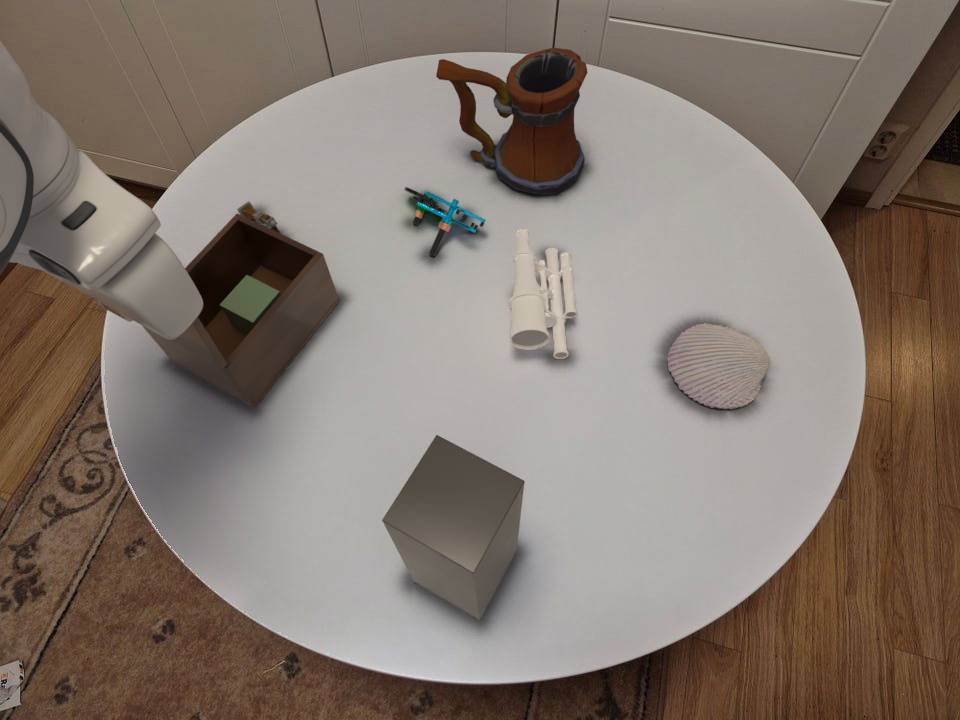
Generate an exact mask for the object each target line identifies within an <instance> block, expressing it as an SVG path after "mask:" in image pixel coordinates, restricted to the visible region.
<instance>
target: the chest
mask: <svg viewBox="0 0 960 720" xmlns="http://www.w3.org/2000/svg"><path fill="white" fill-rule="evenodd" d="M280 233H281V232H280ZM280 233H278V232H276V231H274V230H272V229H270V228H269V227H268V226H266V225H264V224H260V223H259V222H256V220H253V219H248V218H246V217H244V216H242V215H240V213H235V215H234V216H233V217H231V219H230V220H229V221H228V222H227V223H226V224H225V225H224V226H223V227H222V228H221V229H220V230H219V231H218V232H217V234H216V235H215V236H214V237H213V238H212V239H211V240H210V241H209V242H208V243H207V244H206V245H205V246H204V247H203V248H202V250H201V251H199V253H197V254H196V256H195V257H193V259H192V260H191V261H190V262H189V263H188V265H186V266H185V267H184V268H185V269H186V271H187V272H188V274H189V276H190V277H191V279H192V281H193V282H194V284H195V286H196V288H197V289H198V291H199V293H200V295H201V297H202V300H203V308H202V311H201V312H200V314H199V315H198V318H199V320H200V321H201V323H202V324H203V326H204V328H205V329H206V331H207V332H208V334H209V336H210V337H211V339H212V340H213V342H214V344H215V345H216V347H217V348H218V350H219V351H220V353H221V355H222V356H223V358H224V359H225V361H226V363H227V365H226V366H225V367H224V368H223V369H221V368H219V367H217V366H216V365H214V364H212V363H210V362H208V361H206V360H205V359H203V358H201V357H199V356H197V355H196V354H194V353H192V352H190V351H188V350H186V349H185V348H183V347H181V346H179V345H177V344H175V343H174V342H172V341H170V340H168V339H166V338H164V337H162V336H161V335H159V334H157V333H155V332H153V331H152V330H150V329H148V328H146V327H144V326H142V328H143V329H144V330H145V331H146V332H147V333H148V335H149V336H150V337H151V338H152V339H153V341H154V342H155V343H156V344H157V346H159V348H160V349H161V350H162V351H163V353H165V355H166V356H167V357H168V358H169V359H170V361H171V362H172V363H174V364H175V365H177V366H179V367H181V368H183V369H184V370H186V371H188V372H190V373H191V374H193V375H195V376H196V377H198V378H200V379H202V380H204V381H206V382H207V383H210V384H211V385H213V386H215V387H217V388H219V390H222V391H224V392H226V393H227V394H229V395H231V396H232V397H234V398H236V399H238V400H240V401H242V402H243V403H245V404H247V405H249V406H251V407H252V408H254V409H255V408H257V407H258V405H259V404H260V403H261V401H262V400H264V398H265V397H266V395H267V394H268V393H269V392H270V391H271V389H272V388H273V386H274V385H275V384H276V382H277V381H278V380H279V379H280V377H281V376H283V374H284V372H285V371H286V370H287V369H288V367H290V365H291V363H293V361H294V360H295V359H296V358H297V356H298V355H299V354H300V352H301V351H302V350H303V348H304V347H305V346H306V345H307V344H308V342H309V341H310V340H311V339H312V337H313V336H314V334H315V333H316V332H317V331H318V329H319V328H321V326H322V324H323V323H324V322H325V320H327V318H328V317H329V316H330V314H331V313H332V312H333V310H334V309H335V308H336V306H337V305H338V304H339V303H340V302H341V299H340V297H339V295H338V292H337V289H336V287H335V283H334V281H333V277H332V275H331V272H330V269H329V266H328V264H327V261H326V258H325V255H324V253H323V252H320V251H319V250H316V249H314V248H312V247H310V246H308V245H305V244H304V243H301V242H299V241H297V240H296V239H293V238H290V237H289V236H287V235H285V234H282V233H281V234H280ZM246 275H248V276H250V277H252V278H254V279H256V280H258V281H260V282H262V283H264V284H266V285H268V286H270V287H272V288H274V289H276V290H278V291H280V293H281V296H280V297H279V298H278V299H277V300H276V302H275V303H274V304H273V305H272V306H271V308H270V309H269V310H268V311H267V312H266V314H265V315H264V316H263V317H262V318H261V319H260V321H259V322H258V323H257V324H256V325H255V327H254V328H253V329H252V330H251V331H250V332H249V334H248V335H247V334H245V333H243V332H241V331H240V330H238V329H236V328H234V327H233V325H232V324H231V322H230V321H229V319H228V317H227V316H226V314H225V313H224V311H223V310H222V308H221V306H220V304H221V303H222V302H223V300H224V299H225V298H226V297H227V296H228V295H229V294H230V293H231V292H232V291H233V289H234V288H235V287H236V286H237V285H238V284H239V283H240V282H241V281H242V279H243V278H244V277H245V276H246Z"/></svg>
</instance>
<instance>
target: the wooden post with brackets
mask: <svg viewBox="0 0 960 720" xmlns="http://www.w3.org/2000/svg"><path fill="white" fill-rule="evenodd" d="M236 210H237V212H238V214H240V215H242V216H244V217H246V218H248V219H250V220H254V221H255V222H257V223H259V224H261V225H264V226H265V227H267V228H269V229H272V230H274V231H276V232H278V233H280V234H282V233H281V231H280V230H279V228H278V227H277V225H278V221H276V219H275V217H274V216H271V215H269V214H268V213H265V212H263V211H262V212H261V211H260V210H256V209H255V208H254V206H253V204H252V202H250V200H248V201H246V202H245V203H243V204H242V205H241V206H239V207H237V208H236Z"/></svg>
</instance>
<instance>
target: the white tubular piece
mask: <svg viewBox="0 0 960 720" xmlns="http://www.w3.org/2000/svg"><path fill="white" fill-rule="evenodd" d="M529 234H530V231H529V229H527V228H519V229H517V231H516V237H517V239H516V241H517V243H516V250H515V254H514V256H513V258H512V259H513V260H512V261H513V263H514V270H515V271H514V274H515V275H514V276H515V277H514V278H515V281H514V288H513V293H512V296H511V297H510V298H509V300H508V307H509V310H510V311H511V333H510V335H509V343H510V344H511V346H513V347H514V348H516V349H519V350H524V351H525V350H526V351H528V350H529V351H530V350H537V349H540V348H543V347H544V346H546V345H548V343H549V342H550V340H551V335H550V333H549V330H548V328H552V337H553V348H554V349H553V350H554V352H553V353H552V354H553V355H552V356H553V358H554V359H557V360H563V359H566V358H568V357H569V351H568V348H567V338H566V326H565V323H566V321H567V320H568V319H574V318H576V317H577V316H578V311H577V308H576V299H575V291H574V289H575V288H574V281H573V267H572V261H571V257H572V255H571V253H570V252H568V251H565V252H561V253H560V254H559V249H558V248H556V247H549V248H547V249H546V250H545V251H544V255H545V257H546V260H544V259H540V260H539V262H538V261H536V255H535V254H534V253H533V251H532V247H531V245H530V238H529ZM558 255H559V256H558ZM559 260H560V266H559ZM545 261H546V262H545ZM560 267H561V268H560ZM536 272H538V273H539V277H540V284H539V283H538V281H537V275H536ZM561 279H562V286H563V296H562V286H561ZM547 282H548V284H547ZM563 297H564V306H565V311H564V307H563ZM549 302H550V307H549Z"/></svg>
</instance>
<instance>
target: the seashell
mask: <svg viewBox="0 0 960 720" xmlns="http://www.w3.org/2000/svg"><path fill="white" fill-rule="evenodd" d="M666 358H667V369H668V371H669V372H670V373H671V377H672V378H673V379H674V382H675V383H676V384H677V385H678V389H679V390H681V391H683V394H684V395H688V398H691V399H692V401H694V402H697V403H698V404H703V406H705V407H709V408H711V409H713V408H717V409H721V410H727V409H729V410H734V409H738V408H742V407H745V406H747V405H748V404H750V403H752V402H753V401H755V399H756V398H757V397H758V395H759V394H760V392H761V391H760V390H761V388H762V382H763V379H764V377H765V376H766V374H767V373H768V371H769V370H770V367H771V364H772V363H771V362H772V361H771V358H770V355H769V353H768V352H767V350H766V349H765V348H764V347H763V346H762V345H761V344H760V343H758V342H757V341H756V340H754V339H753V338H751V337H750V336H748V335H745V334H743V333H741V332H739V331H738V330H736V328H733V327H731V326H730V327H729V326H728V325H726V326H724V325H723V324H721V325H720V324H719V325H717V324H712V323H706V322H704V323H698V324H695V325H692V326H690V328H686V329H685V330H684V331H680V334H679V335H678V336H677V337H676V338H675V340H674V342H672V345H671V347H669V351H668V354H667V357H666Z"/></svg>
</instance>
